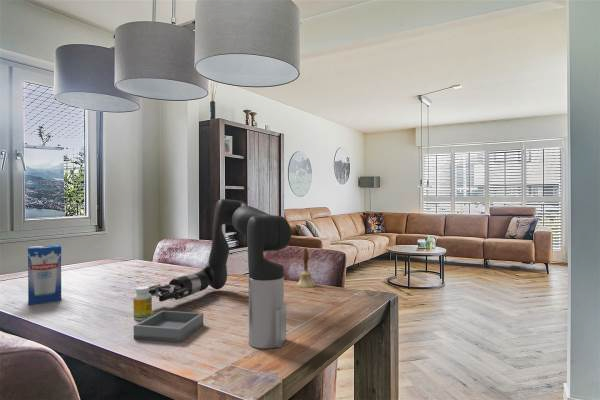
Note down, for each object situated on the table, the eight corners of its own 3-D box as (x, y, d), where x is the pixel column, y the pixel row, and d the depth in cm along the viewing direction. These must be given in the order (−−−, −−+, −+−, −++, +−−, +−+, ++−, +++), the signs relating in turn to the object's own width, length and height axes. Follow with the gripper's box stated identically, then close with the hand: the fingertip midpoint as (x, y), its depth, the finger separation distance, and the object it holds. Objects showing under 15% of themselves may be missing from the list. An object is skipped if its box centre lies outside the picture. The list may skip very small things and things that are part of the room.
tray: (203, 324, 109) (203, 313, 109) (179, 342, 96) (179, 329, 96) (162, 321, 112) (162, 310, 112) (133, 338, 98) (133, 325, 98)
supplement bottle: (137, 315, 118) (137, 285, 118) (154, 315, 118) (154, 285, 118) (130, 320, 113) (130, 289, 113) (148, 320, 113) (148, 289, 113)
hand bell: (294, 287, 155) (294, 249, 155) (298, 282, 163) (298, 247, 163) (314, 288, 153) (314, 250, 153) (316, 283, 161) (316, 247, 161)
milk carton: (27, 305, 129) (27, 248, 129) (29, 301, 134) (28, 246, 134) (61, 300, 135) (61, 246, 135) (61, 296, 140) (61, 244, 140)
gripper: (170, 274, 136) (134, 283, 121) (200, 277, 130) (166, 287, 115) (170, 294, 136) (134, 305, 121) (200, 298, 130) (166, 311, 115)
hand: (150, 297), depth 118 cm, fingers open, 8 cm apart
